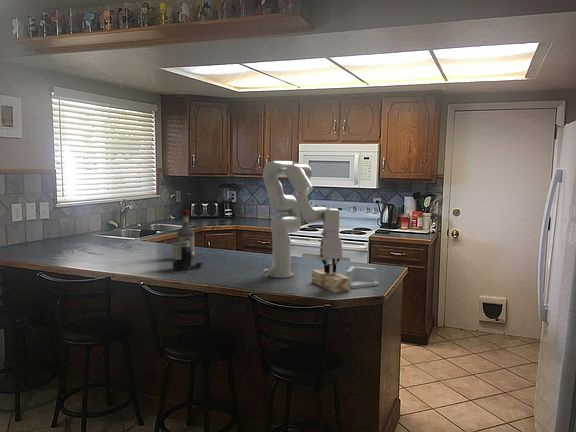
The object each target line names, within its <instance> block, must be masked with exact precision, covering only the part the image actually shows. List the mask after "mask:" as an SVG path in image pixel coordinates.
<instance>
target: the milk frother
mask: <svg viewBox="0 0 576 432" xmlns="http://www.w3.org/2000/svg"><path fill="white" fill-rule="evenodd" d="M171 245H172V247H171V249H172V250H171V251H172V268H173V269H175V270H174V271H176V270H182V271H186V270H185V269H188V270H190V269H191V268H194V266H195V267H197V268H200V267H201V266H203V265H204V262H196V263H195V264H193V265H192V260H191V249H190V247H188V242H178V241H175V242H171ZM199 266H200V267H199Z"/></svg>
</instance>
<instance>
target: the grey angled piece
mask: <svg viewBox="0 0 576 432" xmlns="http://www.w3.org/2000/svg"><path fill="white" fill-rule="evenodd" d="M345 276H346V277H349V278H350V289H360V288H369V287H378V286H380V282H379V281H376V268H374V267H365V266H364V267H363V266H353V265H352V266H349V267H348V269H347V270H346V271H345Z"/></svg>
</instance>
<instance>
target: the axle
mask: <svg viewBox="0 0 576 432" xmlns="http://www.w3.org/2000/svg"><path fill="white" fill-rule="evenodd" d="M328 265H329V273H327V275H333V263H332V262H328Z"/></svg>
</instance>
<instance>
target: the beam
mask: <svg viewBox="0 0 576 432" xmlns="http://www.w3.org/2000/svg"><path fill="white" fill-rule="evenodd" d="M311 270H312V271H311V282H312V283H313V284H316V285H317V286H320V287H322V288H323V289H325V290H326V289H327V290H328V291H330V292H332V293H343V292H349V291H351V290H350V289H351V288H350V278H349V277H346V275H344V274H341V273H338V272H336V273H334V272H333V275H327V273H325V271H324V268H320V269H311Z"/></svg>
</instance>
